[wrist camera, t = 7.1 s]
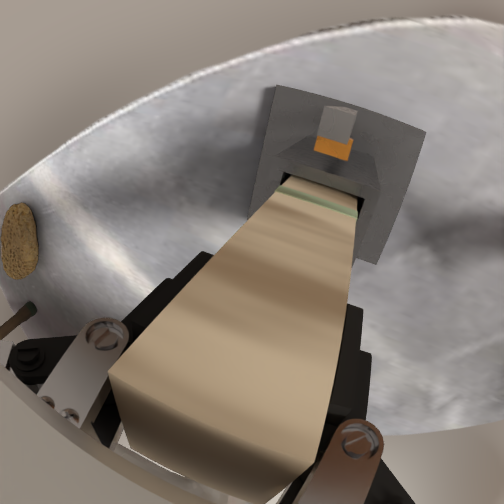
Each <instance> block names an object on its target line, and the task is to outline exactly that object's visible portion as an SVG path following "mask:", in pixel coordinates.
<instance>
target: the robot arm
mask: <svg viewBox="0 0 504 504" xmlns="http://www.w3.org/2000/svg"><path fill="white" fill-rule="evenodd" d="M213 256H214V255H212V254H209V253H207V252H204V251H202V252H200V253H199V254H198V255H197V256H196V257H195V258H194V259H193V260H192V261H191V262H190V263H189V264H188V265H187V266H186V267H185V268H184V269H183V270H182V271H181V272H180V273H179V274H178V275H176V276H175V277H174V278H173V279H171V278H166V279H165V280H164V281H163V282H162V283H161V284H159V285H158V286H157V287H156V288H155V289H154V290H153V291H152V292H151V293H150V294H149V295H148V296H147V297H146V298H145V299H144V300H143V301H142V302H141V303H140V304H139V305H138V306H137V307H136V308H135V309H134V310H133V311H132V312H131V313H130V314H128V315H127V316H126V317H125V318H124V319H123V320H122V321H121V322H120V321H118V320H116V319H113V318H98V319H94V320H92V321H90V322H88V323H87V324H86V325H85V326H84V327H83V329H82V330H81V331H80V333H79V334H78V335H76V336H65V337H53V338H40V339H29V340H24V341H22V342H20V343H18V344H17V345H14V343H13V342H10V341H3V340H0V504H253V503H250V502H247V501H244V500H241V499H239V498H236V497H233V496H230V495H228V494H225V493H223V492H220V491H217V490H215V489H212V488H210V487H208V486H205V485H203V484H201V483H198V482H196V481H194V480H192V479H189V478H187V477H183V476H180V475H178V474H176V473H173V472H170V471H168V470H166V469H164V468H162V467H160V466H158V465H156V464H155V463H153V462H151V461H149V460H147V459H145V458H144V457H142V456H140V455H138V454H137V453H135V452H133V451H131V450H129V449H128V448H126V447H124V446H122V445H120V444H118V441H119V439H120V436H121V434H122V431H123V429H124V427H123V424H122V421H121V418H120V414H119V411H118V408H117V404H116V401H115V397H114V394H113V390H112V387H111V383H110V379H109V375H108V370H109V369H110V368H111V367H112V366H113V365H114V364H115V362H116V361H117V360H118V359H119V358H120V357H121V356H122V355H123V354H124V352H125V351H126V350H127V349H128V348H129V347H130V346H131V345H132V344H133V342H134V341H135V340H136V339H137V338H138V337H139V336H140V335H141V334H142V333H143V331H144V330H145V329H146V328H147V327H148V326H149V325H150V324H151V323H152V322H153V320H154V319H155V318H156V317H157V316H158V315H159V314H160V313H161V312H162V311H163V310H164V308H165V307H166V306H167V305H168V304H169V303H170V302H171V301H172V300H173V299H174V298H175V297H176V296H177V294H178V293H179V292H180V291H181V290H182V289H183V288H184V287H185V286H186V285H187V284H188V283H189V282H190V281H191V279H192V278H193V277H194V276H195V275H196V274H197V273H198V272H199V271H200V270H201V269H202V268H203V267H204V266H205V265H206V263H207V262H208V261H209V260H210V259H211V258H212V257H213ZM362 322H363V309H362V308H359V307H356V306H353V305H350V304H347V306H346V313H345V320H344V326H343V333H342V339H341V345H340V350H339V356H338V361H337V367H336V372H335V377H334V382H333V387H332V392H331V396H330V401H329V405H328V410H327V414H326V418H325V423H324V427H323V431H322V435H321V439H320V443H319V447H318V450H317V454H316V458H315V461H314V463H313V464H312V465H311V466H310V467H309V468H308V469H306V470H305V471H304V472H303V473H302V474H301V475H300V476H299V477H297V478H296V479H295V480H294V481H293V482H292V483H290V484H289V485H288V486H287V487H286V489H285V490H284V492H283V494H282V495H281V497H280V498H279V500H278V502H277V503H276V504H415V503H414V501H413V500H412V499H411V497H410V496H409V495H408V493H407V492H406V491H405V489H404V488H403V487H402V485H401V484H400V483H399V482H398V480H397V479H396V478H395V476H394V475H393V474H392V472H391V471H390V470H389V468H388V467H387V466H386V464H385V463H384V462H383V460H382V459H381V456H382V453H383V449H384V441H383V436H382V435H381V433H380V431H379V430H378V429H377V428H376V426H375V425H373V424H372V423H370V422H368V421H366V414H367V406H368V396H369V386H370V375H371V362H372V355H371V353H368V352H364V351H361V350H360V344H361V334H362Z"/></svg>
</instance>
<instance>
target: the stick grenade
mask: <svg viewBox="0 0 504 504" xmlns="http://www.w3.org/2000/svg"><path fill="white" fill-rule="evenodd" d="M36 312H37V310H36V307H35V305H34V304H33V303H32V302H27V303H26V304H25V305H24V306H23V307H22V308H21V309H19V311H18V312H17V313H16V314H15V315H14V316H13V317H11V318H10V319H9V320H8V321H7V322H5V323H4V324H3V325H2V326H0V340H2V339H3V338H4V337H5V336H7V335H8V334H9V333H10V332H11V331H12V330H14V329H15V328H16V327H17V326H18V325H20V324H21V323H22V322H24V321H26V320H28V319H29V318H30V317H32V316H34V315H35V314H36Z"/></svg>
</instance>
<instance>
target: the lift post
mask: <svg viewBox="0 0 504 504" xmlns="http://www.w3.org/2000/svg"><path fill="white" fill-rule="evenodd" d="M357 198H358V196H356V195H353V194H350V193H347V192H344V191H342V190H339V189H336V188H333V187H330V186H327V185H324V184H321V183H318V182H315V181H312V180H308V179H305V178H302V177H299V176H296V175H291V177H290V178H289V179H288V180H287V181H286V182H285V183H284V184H283V185H282V186H281V185H280V186H279V187H278V188H277V189H276V190H275V192H274V194H273V195H272V196H271V197H270V198H269V199H268V200H267V201H266V202H265V203H264V204H263V205H262V206H261V207H260V208H259V209H258V210H257V211H256V212H255V213H254V214H253V215H252V216H251V217H250V218H249V219H248V221H247V222H246V223H245V224H244V225H243V226H242V227H241V228H240V229H239V230H238V231H237V232H236V233H235V234H234V235H233V236H232V237H231V238H230V239H229V240H228V241H227V242H226V243H225V245H224V246H223V247H222V248H221V249H220V250H219V251H218V252H217V253H216V254H215V255H214V256H213V257H212V258H211V259H210V260H209V261H208V262H207V263H206V265H205V266H204V267H203V268H202V269H201V270H200V271H199V272H198V273H197V274H196V275H195V276H194V277H193V278H192V279H191V281H190V282H189V283H188V284H187V285H186V286H185V287H184V288H183V289H182V290H181V291H180V292H179V293H178V294H177V296H176V297H175V298H174V299H173V300H172V301H171V302H170V303H169V304H168V305H167V306H166V307H165V308H164V310H163V311H162V312H161V313H160V314H159V315H158V316H157V317H156V318H155V319H154V320H153V322H152V323H151V324H150V325H149V326H148V327H147V328H146V329H145V330H144V331H143V333H142V334H141V335H140V336H139V337H138V338H137V339H136V340H135V341H134V342H133V344H132V345H131V346H130V347H129V348H128V349H127V350H126V351H125V352H124V354H123V355H122V356H121V357H120V358H119V359H118V360H117V361H116V362H115V364H114V365H113V366H112V367H111V368H110V369H109V370H108V375H109V379H110V383H111V387H112V390H113V394H114V397H115V401H116V404H117V408H118V411H119V414H120V418H121V421H122V424H123V427H124V430H125V433H126V436H127V439H128V442H129V445H130V447H131V448H132V449H133V450H135V451H137V452H139V453H140V454H142V455H144V456H146V457H147V458H149V459H151V460H153V461H155V462H157V463H159V464H161V465H163V466H164V467H166V468H168V469H170V470H173V471H175V472H177V473H179V474H181V475H183V476H185V477H187V478H189V479H192V480H194V481H196V482H198V483H201V484H203V485H205V486H208V487H210V488H212V489H215V490H217V491H220V492H223V493H225V494H228V495H230V496H233V497H236V498H239V499H241V500H244V501H247V502H250V503H253V504H265V503H267V502H268V501H269V500H270V499H272V498H273V497H274V496H276V495H277V494H278V493H279V492H281V491H282V490H283V489H284V488H286V487H287V486H288V485H289V484H290V483H292V482H293V481H294V480H295V479H296V478H297V477H299V476H300V475H301V474H302V473H303V472H304V471H305V470H306V469H308V468H309V467H310V466H311V465H312V464H313V463H314V461H315V458H316V454H317V450H318V447H319V443H320V439H321V435H322V431H323V427H324V423H325V418H326V414H327V410H328V405H329V401H330V396H331V392H332V387H333V382H334V377H335V372H336V367H337V361H338V356H339V350H340V345H341V339H342V333H343V326H344V320H345V313H346V306H347V299H348V292H349V284H350V276H351V267H352V258H353V248H354V237H355V226H356V221H357V216H358V211H357Z"/></svg>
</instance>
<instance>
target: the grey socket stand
mask: <svg viewBox="0 0 504 504" xmlns="http://www.w3.org/2000/svg"><path fill="white" fill-rule="evenodd" d="M425 135H426V132H425V131H423V130H420V129H418V128H415V127H413V126H410V125H408V124H405V123H403V122H400V121H398V120H395V119H392V118H390V117H387V116H384V115H382V114H379V113H376V112H373V111H370V110H367V109H364V108H361V107H358V106H355V105H352V104H348V103H345V102H342V101H339V100H335V99H332V98H328V97H325V96H321V95H317V94H313V93H310V92H306V91H302V90H298V89H293V88H289V87H285V86H280V85H276V89H275V94H274V98H273V103H272V107H271V112H270V116H269V121H268V125H267V130H266V134H265V139H264V143H263V148H262V153H261V157H260V162H259V166H258V171H257V176H256V180H255V185H254V190H253V194H252V199H251V204H250V208H249V213H248V218H247V220H248V219H249V218H250V217H251V216H252V215H253V214H254V213H255V212H256V211H257V210H258V209H259V208H260V207H261V206H262V205H263V204H264V203H265V202H266V201H267V200H268V199H269V198H270V197H271V196H272V195H273V194H274V192H275V190H276V189H277V188H278V187H279V186H280V185H281V186H282V185H283V184H284V183H285V182H286V181H287V180H288V179H289V178H290V177H291V175H296V176H299V177H302V178H305V179H308V180H312V181H315V182H318V183H321V184H324V185H327V186H330V187H333V188H336V189H339V190H342V191H344V192H347V193H350V194H353V195H356V196H358V198H357V211H358V216H357V221H356V226H355V237H354V248H353V258H352V266H353V264H354V261H355V259H356V258H359V259H361V260H364V261H367V262H370V263H372V264H375V265H376V264H377V262H378V260H379V258H380V255H381V253H382V251H383V248H384V246H385V244H386V241H387V239H388V237H389V234H390V232H391V229H392V227H393V225H394V222H395V220H396V217H397V215H398V212H399V210H400V207H401V204H402V202H403V199H404V196H405V194H406V191H407V188H408V186H409V183H410V180H411V177H412V174H413V172H414V169H415V166H416V163H417V160H418V157H419V154H420V151H421V148H422V144H423V141H424V138H425ZM351 268H352V267H351Z"/></svg>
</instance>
